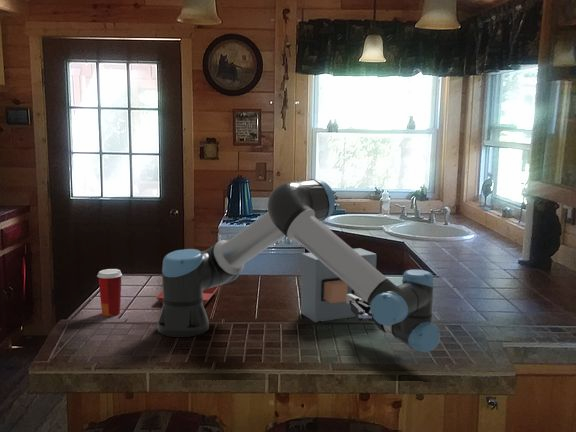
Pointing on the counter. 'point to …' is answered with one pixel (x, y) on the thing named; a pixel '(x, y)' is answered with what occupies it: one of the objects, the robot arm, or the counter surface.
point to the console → (313, 289)
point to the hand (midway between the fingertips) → (348, 298)
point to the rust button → (335, 291)
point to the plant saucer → (206, 295)
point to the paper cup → (110, 291)
